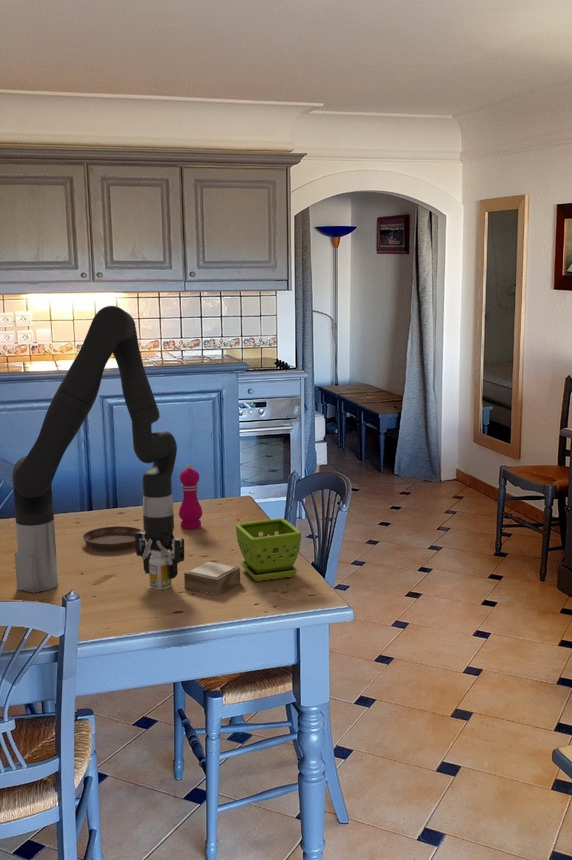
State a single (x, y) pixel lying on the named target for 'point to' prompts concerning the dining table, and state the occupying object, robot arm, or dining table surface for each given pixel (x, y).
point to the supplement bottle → (159, 571)
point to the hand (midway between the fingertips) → (160, 575)
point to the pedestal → (212, 577)
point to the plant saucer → (111, 538)
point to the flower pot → (268, 548)
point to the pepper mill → (190, 500)
